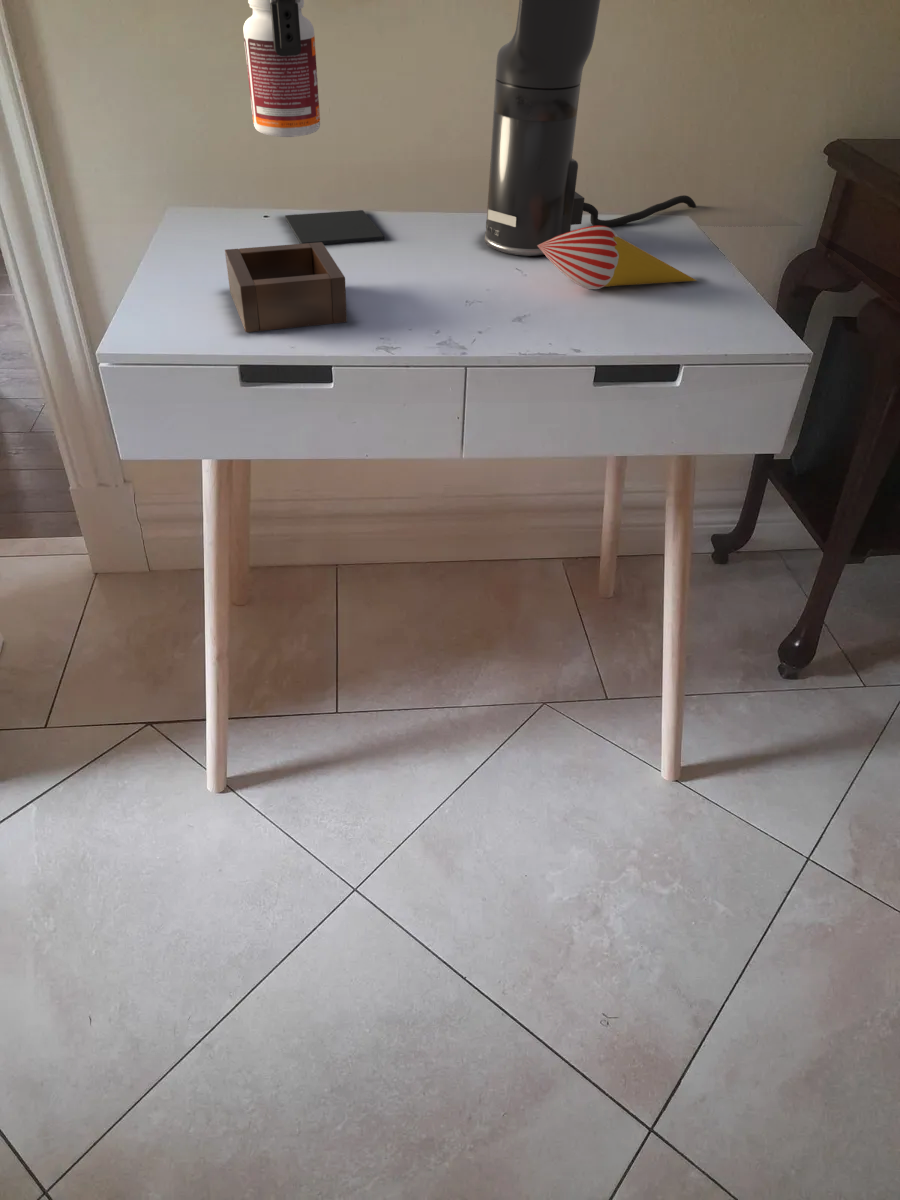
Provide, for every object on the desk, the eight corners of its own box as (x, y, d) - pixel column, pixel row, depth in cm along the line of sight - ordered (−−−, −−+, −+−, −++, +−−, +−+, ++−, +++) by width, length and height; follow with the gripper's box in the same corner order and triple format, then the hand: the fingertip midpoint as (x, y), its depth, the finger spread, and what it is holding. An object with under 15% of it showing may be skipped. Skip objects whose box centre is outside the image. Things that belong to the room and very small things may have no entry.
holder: (324, 284, 95) (322, 241, 92) (347, 322, 88) (345, 277, 85) (230, 293, 92) (224, 249, 89) (245, 332, 85) (240, 286, 82)
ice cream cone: (684, 321, 102) (526, 290, 95) (677, 274, 104) (522, 240, 97) (717, 289, 96) (552, 253, 89) (710, 240, 98) (548, 201, 91)
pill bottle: (332, 133, 82) (324, -10, 75) (271, 142, 79) (257, -6, 72) (302, 118, 86) (291, -19, 79) (242, 126, 83) (226, -16, 76)
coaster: (363, 213, 113) (362, 209, 113) (384, 239, 106) (384, 236, 106) (285, 218, 111) (284, 215, 110) (301, 246, 103) (301, 242, 103)
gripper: (328, -208, 63) (341, 62, 74) (287, -205, 74) (304, 32, 85) (222, -212, 61) (252, 65, 72) (195, -209, 72) (224, 34, 83)
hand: (280, 46), depth 78 cm, fingers closed on pill bottle, 6 cm apart
